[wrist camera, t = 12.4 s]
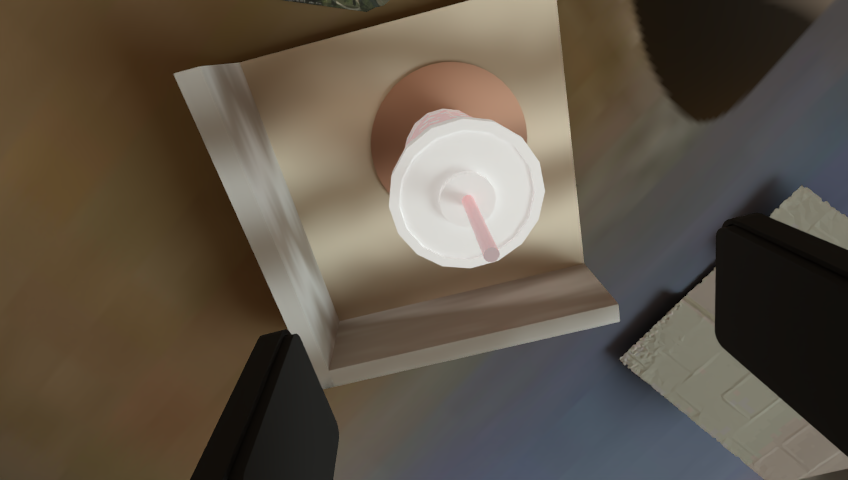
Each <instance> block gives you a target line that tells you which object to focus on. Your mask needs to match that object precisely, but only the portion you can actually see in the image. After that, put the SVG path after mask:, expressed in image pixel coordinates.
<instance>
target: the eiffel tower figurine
mask: <svg viewBox="0 0 848 480" xmlns="http://www.w3.org/2000/svg"><path fill="white" fill-rule="evenodd" d="M285 1H293V2H301V3H308V4H315V5H322V6H329V7H336V8H344V9H351V10H358V11H364V12H367V11H369V10H371V9H373V8H375V7H379V6H383V5H385V4H386V3H387V2H388V1H389V0H285Z"/></svg>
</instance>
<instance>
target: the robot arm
mask: <svg viewBox="0 0 848 480" xmlns="http://www.w3.org/2000/svg"><path fill="white" fill-rule="evenodd" d="M715 335H716V338H717V340H718V342H719V344H720V345H721V346H722V348H723V349H725V350H726V351H727V352H728V353H729V354H730V355H731V356H733V357H734V358H735V359H736V360H737V361H738V362H739V363H741V364H742V365H743V366H744V367H745V368H746V369H747V370H749V371H750V372H751V373H752V374H753V375H754V376H755V377H757V378H758V379H759V380H760V381H761V382H762V383H764V384H765V385H766V386H767V387H768V388H769V389H770V390H772V391H773V392H774V393H775V394H776V395H777V396H778V397H780V398H781V399H782V400H783V401H784V402H785V403H786V404H788V405H789V406H790V407H791V408H792V409H793V410H794V411H796V412H797V413H798V414H799V415H800V416H801V417H803V418H804V419H805V420H806V421H807V422H808V423H809V424H811V425H812V426H813V427H814V428H815V429H816V430H817V431H819V432H820V433H821V434H822V435H823V436H824V437H825V438H827V439H828V440H829V441H830V442H831V443H832V444H833V445H835V446H836V447H837V448H838V449H839V450H840V451H841V452H843V453H844V454H845V455H846V456H847V457H848V250H847V249H845V248H842V247H840V246H837V245H835V244H833V243H830V242H828V241H825V240H823V239H821V238H818V237H816V236H813V235H811V234H809V233H806V232H804V231H801V230H799V229H797V228H794V227H792V226H789V225H787V224H785V223H782V222H780V221H777V220H775V219H773V218H770V217H768V216H765V215H763V214H760V213H753V214H749V215H745V216H741V217H737V218H733V219H729V220H727V221H725V222H724V224H723V226H722V228H720V229H719V230H718V232H717V235H716V278H715ZM338 441H339V431H338V426H337V422H336V420H335V417H334V415H333V413H332V410H331V408H330V406H329V403H328V401H327V399H326V396H325V394H324V391H323V389H322V387H321V384H320V382H319V380H318V377H317V375H316V373H315V370H314V368H313V366H312V363H311V361H310V359H309V356H308V354H307V352H306V349H305V347H304V345H303V342H302V340H301V338H300V336H299V335H298V334H291V333H290V332H289V330H286V329H285V330H281V331H277V332H273V333H269V334H265V335H262V336H260V337H259V339H258V341H257V343H256V345H255V347H254V349H253V351H252V353H251V355H250V357H249V359H248V361H247V363H246V365H245V367H244V369H243V372H242V374H241V376H240V378H239V380H238V382H237V384H236V386H235V388H234V390H233V392H232V394H231V396H230V398H229V400H228V402H227V405H226V407H225V409H224V411H223V413H222V415H221V417H220V419H219V421H218V423H217V425H216V427H215V429H214V431H213V433H212V436H211V438H210V440H209V442H208V444H207V446H206V448H205V450H204V452H203V454H202V456H201V458H200V460H199V462H198V464H197V467H196V469H195V471H194V473H193V475H192V477H191V479H190V480H333V476H334V469H335V462H336V455H337V448H338ZM798 480H848V469H843V470H839V471H834V472H830V473H825V474H821V475H816V476H812V477H807V478H803V479H798Z"/></svg>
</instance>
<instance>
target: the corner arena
mask: <svg viewBox="0 0 848 480" xmlns="http://www.w3.org/2000/svg"><path fill="white" fill-rule="evenodd" d="M174 76H175V79H176V81H177V83H178V85H179V88H180V90H181V92H182V94H183V97H184V99H185V101H186V103H187V105H188V108H189V110H190V112H191V114H192V117H193V119H194V121H195V123H196V125H197V128H198V130H199V132H200V134H201V137H202V139H203V141H204V143H205V146H206V148H207V150H208V152H209V154H210V157H211V159H212V161H213V163H214V166H215V168H216V170H217V172H218V174H219V177H220V179H221V181H222V183H223V186H224V188H225V190H226V192H227V195H228V197H229V199H230V201H231V203H232V206H233V208H234V210H235V212H236V215H237V217H238V219H239V221H240V223H241V226H242V228H243V230H244V232H245V235H246V237H247V239H248V241H249V244H250V246H251V248H252V250H253V252H254V255H255V257H256V259H257V261H258V264H259V266H260V268H261V270H262V272H263V275H264V277H265V279H266V281H267V284H268V286H269V288H270V290H271V293H272V295H273V297H274V299H275V301H276V304H277V306H278V308H279V310H280V313H281V315H282V317H283V319H284V321H285V324H286V326H287V328H288V330H289V332H290V333H291V334H298V335H299V336H300V338H301V340H302V342H303V345H304V347H305V349H306V352H307V354H308V356H309V359H310V361H311V363H312V366H313V368H314V370H315V373H316V375H317V377H318V380H319V382H320V384H321V387H322V389H326V388H331V387H335V386H339V385H344V384H348V383H353V382H357V381H361V380H366V379H370V378H374V377H379V376H383V375H388V374H392V373H396V372H401V371H405V370H410V369H414V368H418V367H423V366H427V365H432V364H436V363H440V362H445V361H449V360H453V359H458V358H462V357H467V356H471V355H475V354H480V353H484V352H489V351H493V350H497V349H502V348H506V347H511V346H515V345H519V344H524V343H528V342H532V341H537V340H541V339H546V338H550V337H554V336H559V335H563V334H568V333H572V332H576V331H581V330H585V329H590V328H594V327H598V326H603V325H607V324H611V323H616V322H620V319H619V305H618V303H617V302H616V301H615V299H614V298H613V297H612V296H611V295H610V294H609V292H608V291H607V290H606V289H605V288H604V286H603V285H602V284H601V283H600V282H599V281H598V279H597V278H596V277H595V276H594V275H593V274H592V272H591V271H590V270H589V269H588V268H587V266H586V265H585V264H584V258H583V248H582V239H581V229H580V220H579V210H578V201H577V191H576V181H575V172H574V162H573V153H572V143H571V134H570V124H569V115H568V105H567V96H566V86H565V77H564V67H563V58H562V48H561V38H560V29H559V19H558V10H557V0H469V1H465V2H461V3H458V4H454V5H450V6H446V7H443V8H439V9H435V10H432V11H428V12H424V13H421V14H417V15H413V16H409V17H406V18H402V19H398V20H395V21H391V22H387V23H384V24H380V25H376V26H373V27H369V28H365V29H361V30H358V31H354V32H350V33H347V34H343V35H339V36H336V37H332V38H328V39H325V40H321V41H317V42H313V43H310V44H306V45H302V46H299V47H295V48H291V49H288V50H284V51H280V52H277V53H273V54H269V55H265V56H262V57H258V58H254V59H251V60H247V61H243V62H240V63H230V64H219V65H209V66H200V67H196V68H192V69H189V70H185V71H181V72H177V73H174ZM440 109H452V110H459V111H461V112H463V113H465V114H467V115H469V116H471V117H473V118H481V119H490V120H493V121H495V122H497V123H498V124H500V125H502V126H504V127H505V128H507V129H509V130H510V131H512V132H514V133H516V134H517V135H519V136H521V137H522V138H523V139H524V141H525V142H526V144H527V145H528V146H529V148H530V149H531V151H532V152H533V153H534V155H535V156H536V158H537V159H538V161H539V162H540V167H541V172H542V177H543V183H544V188H545V194H544V198H543V202H542V207H541V211H540V216H539V220H538V221H537V223H536V224H535V226H534V227H533V229H532V230H531V232H530V233H529V234H528V236H527V237H526V239H525V240H524V242H523V243H522V244H521V245H520V246H518V247H517V248H515V249H514V250H513V251H511V252H510V253H508V254H507V255H506V256H504V257H503V258H501V259H500V260H499V261H495V262H492V263H488V264H485V265H481V266H477V267H474V268H458V267H445V266H441V265H438V264H436V263H434V262H432V261H430V260H428V259H426V258H424V257H422V256H419V255H417V254H416V253H415V252H414V251H413V249H412V248H411V247H410V246H409V245H408V244H407V243H406V242H405V241H404V240H403V238H402V237H401V236H400V235H399V234H398V232H397V229H396V226H395V223H394V220H393V217H392V214H391V212H390V209H389V198H390V186H391V175H392V171H393V170H394V168H395V166H396V164H397V162H398V160H399V158H400V156H401V154H402V153H403V151H404V149H405V145H406V141H407V137H408V136H409V134H410V132H411V130H412V128H413V126H414V124H415V123H416V122H417V121H419V120H420V119H421V118H422V117H423V116H425V115H426V114H427V113H430V112H433V111H436V110H440Z"/></svg>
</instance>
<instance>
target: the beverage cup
mask: <svg viewBox="0 0 848 480" xmlns="http://www.w3.org/2000/svg"><path fill="white" fill-rule="evenodd" d="M544 194H545V188H544V183H543V177H542V172H541V167H540V162H539V161H538V159H537V158H536V156H535V155H534V153H533V152H532V151H531V149H530V148H529V146H528V145H527V144H526V142H525V141H524V139H523V138H522V137H521V136H519V135H517V134H516V133H514V132H512V131H510V130H509V129H507V128H505V127H504V126H502V125H500V124H498V123H497V122H495V121H493V120H490V119H481V118H473V117H471V116H469V115H467V114H465V113H463V112H461V111H459V110H452V109H440V110H436V111H433V112H430V113H427V114H426V115H425V116H423V117H422V118H421V119H420V120H419V121H417V122H416V123H415V124H414V126H413V128H412V130H411V132H410V134H409V136H408V137H407V141H406V145H405V149H404V151H403V153H402V154H401V156H400V158H399V160H398V162H397V164H396V166H395V168H394V170H393V171H392V175H391V186H390V198H389V209H390V212H391V214H392V217H393V220H394V223H395V226H396V229H397V232H398V234H399V235H400V236H401V237H402V238H403V240H404V241H405V242H406V243H407V244H408V245H409V246H410V247H411V248H412V249H413V251H414V252H415V253H416V254H417V255H419V256H422V257H424V258H426V259H428V260H430V261H432V262H434V263H436V264H438V265H441V266H445V267H458V268H474V267H477V266H481V265H485V264H488V263H492V262H495V261H499V260H500V259H501V258H503V257H504V256H506V255H507V254H508V253H510V252H511V251H513V250H514V249H515V248H517V247H518V246H520V245H521V244H522V243H523V242H524V240H525V239H526V237H527V236H528V234H529V233H530V232H531V230H532V229H533V227H534V226H535V224H536V223H537V221H538V220H539V216H540V211H541V207H542V202H543V198H544Z"/></svg>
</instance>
